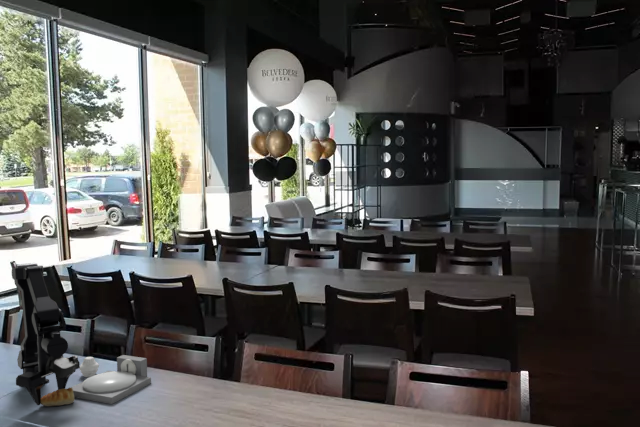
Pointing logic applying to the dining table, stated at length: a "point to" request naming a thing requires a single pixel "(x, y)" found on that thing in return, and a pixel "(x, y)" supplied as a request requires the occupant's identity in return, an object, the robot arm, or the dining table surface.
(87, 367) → the garlic bulb
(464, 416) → the dining table surface
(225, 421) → the dining table surface
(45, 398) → the pastry
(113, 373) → the scale
